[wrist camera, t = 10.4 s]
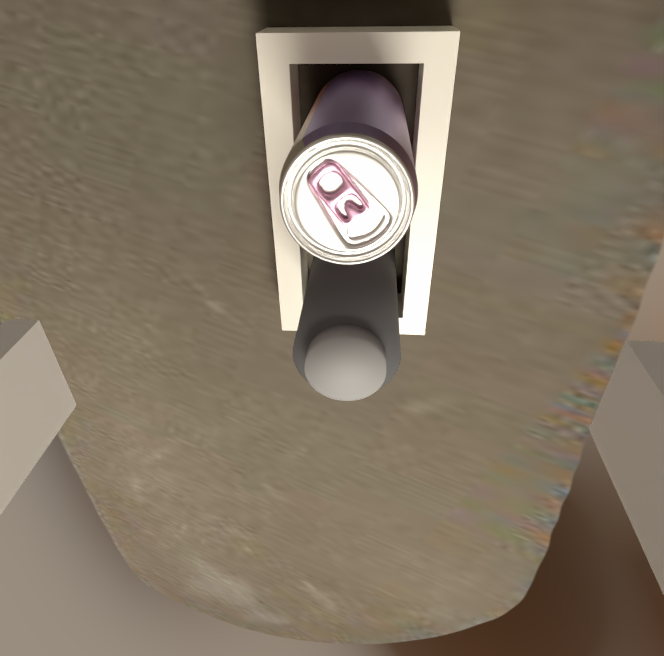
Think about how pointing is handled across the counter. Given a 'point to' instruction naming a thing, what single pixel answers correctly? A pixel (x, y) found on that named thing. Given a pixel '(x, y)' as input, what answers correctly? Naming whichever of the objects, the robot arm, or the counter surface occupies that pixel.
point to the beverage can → (350, 172)
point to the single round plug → (349, 328)
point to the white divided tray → (428, 148)
